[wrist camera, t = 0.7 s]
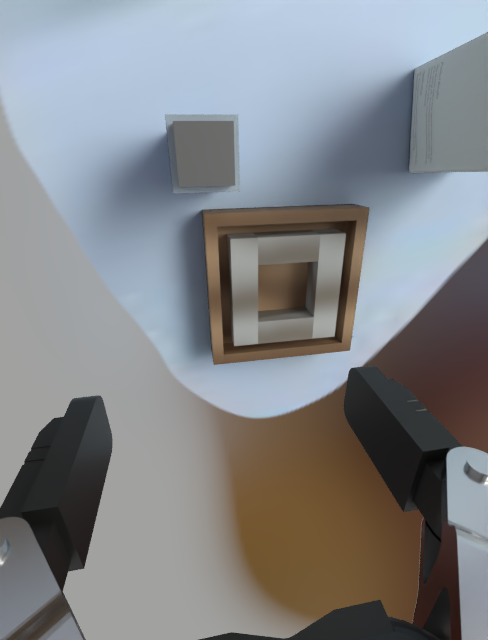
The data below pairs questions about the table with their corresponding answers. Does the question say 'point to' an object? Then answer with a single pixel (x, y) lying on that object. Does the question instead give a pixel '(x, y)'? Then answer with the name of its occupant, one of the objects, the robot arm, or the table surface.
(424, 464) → the robot arm
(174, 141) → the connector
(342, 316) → the walnut box
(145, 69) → the table surface
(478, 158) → the skincare box
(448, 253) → the table surface
